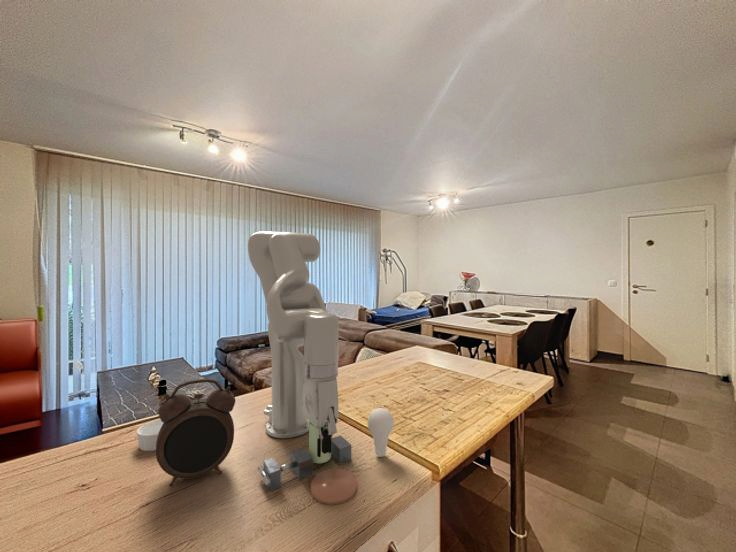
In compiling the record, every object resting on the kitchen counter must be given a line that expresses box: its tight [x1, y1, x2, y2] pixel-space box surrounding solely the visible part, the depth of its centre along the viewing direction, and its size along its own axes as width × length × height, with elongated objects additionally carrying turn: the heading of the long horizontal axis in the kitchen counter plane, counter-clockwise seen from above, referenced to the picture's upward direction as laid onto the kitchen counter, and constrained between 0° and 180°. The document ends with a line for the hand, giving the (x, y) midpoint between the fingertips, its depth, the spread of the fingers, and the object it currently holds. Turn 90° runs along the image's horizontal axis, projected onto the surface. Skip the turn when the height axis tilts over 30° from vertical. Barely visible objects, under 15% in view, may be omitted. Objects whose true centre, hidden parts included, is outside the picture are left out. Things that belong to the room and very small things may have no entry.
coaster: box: [310, 468, 358, 505], centre depth 62 cm, size 9×9×1 cm
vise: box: [257, 435, 352, 492], centre depth 68 cm, size 6×19×4 cm, turn 124°
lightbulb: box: [367, 407, 395, 458], centre depth 72 cm, size 6×6×11 cm
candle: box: [308, 421, 333, 464], centre depth 70 cm, size 5×5×8 cm
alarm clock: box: [155, 378, 236, 488], centre depth 65 cm, size 15×7×20 cm, turn 117°
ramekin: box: [136, 418, 164, 452], centre depth 78 cm, size 9×9×4 cm
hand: (320, 449), depth 70 cm, fingers closed on candle, 3 cm apart
